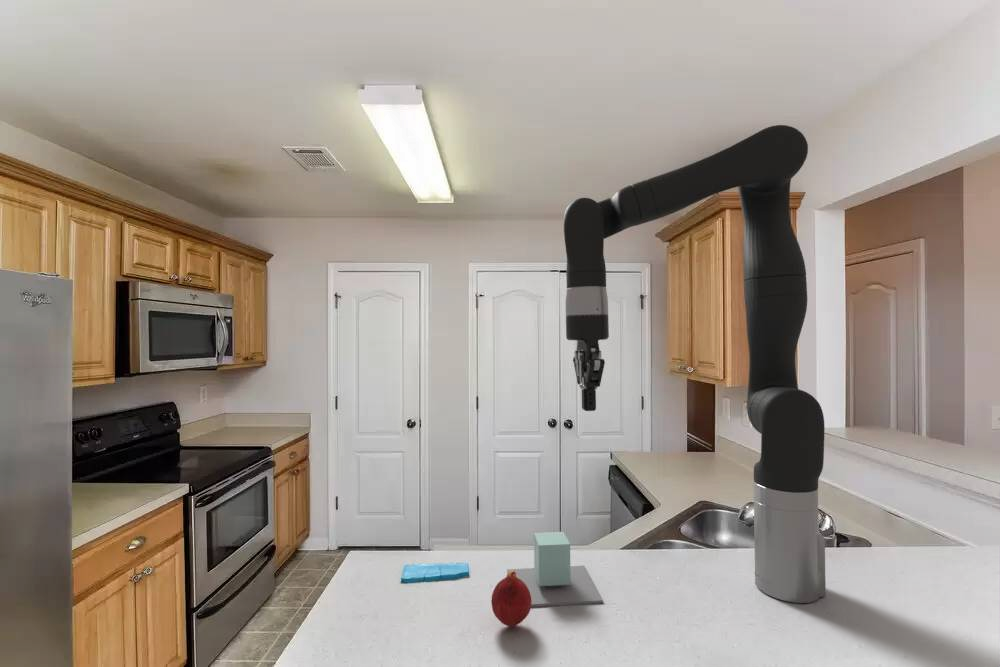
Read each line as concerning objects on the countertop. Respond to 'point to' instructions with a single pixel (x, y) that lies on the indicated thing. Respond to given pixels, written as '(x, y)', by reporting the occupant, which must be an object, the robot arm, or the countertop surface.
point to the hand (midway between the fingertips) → (588, 410)
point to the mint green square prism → (552, 558)
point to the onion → (511, 600)
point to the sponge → (434, 572)
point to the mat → (561, 589)
